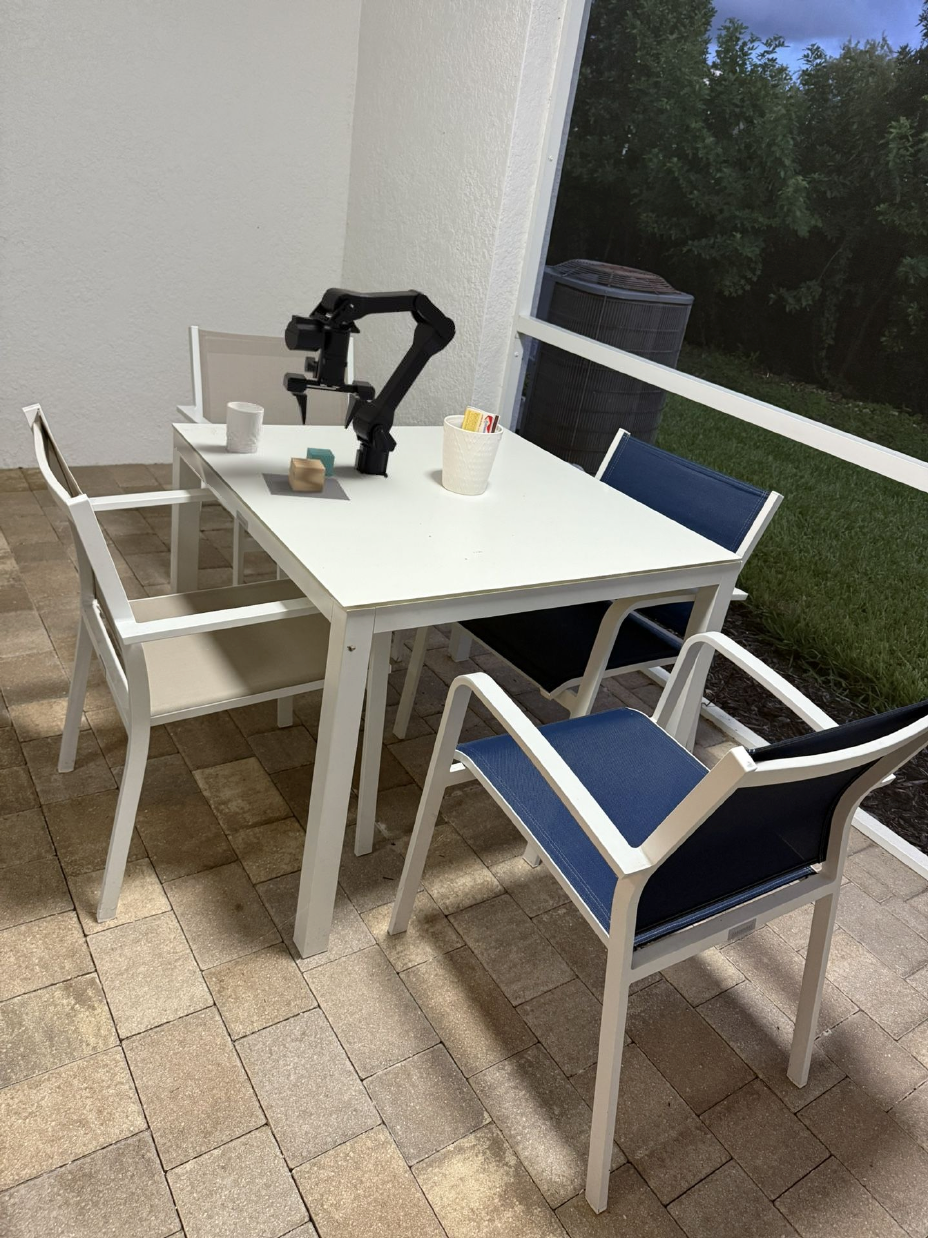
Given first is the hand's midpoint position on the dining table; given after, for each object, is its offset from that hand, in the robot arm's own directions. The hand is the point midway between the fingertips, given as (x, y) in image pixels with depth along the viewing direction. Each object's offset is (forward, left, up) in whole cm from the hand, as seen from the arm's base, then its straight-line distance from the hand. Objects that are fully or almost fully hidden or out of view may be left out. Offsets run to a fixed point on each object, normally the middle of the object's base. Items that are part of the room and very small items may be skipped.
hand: (324, 426), depth 196 cm
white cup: (+15, -12, -11) cm, 22 cm away
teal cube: (0, 0, -11) cm, 11 cm away
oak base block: (+5, +11, -10) cm, 16 cm away
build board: (+5, +11, -11) cm, 16 cm away
